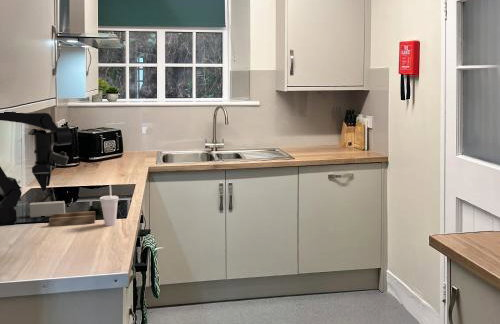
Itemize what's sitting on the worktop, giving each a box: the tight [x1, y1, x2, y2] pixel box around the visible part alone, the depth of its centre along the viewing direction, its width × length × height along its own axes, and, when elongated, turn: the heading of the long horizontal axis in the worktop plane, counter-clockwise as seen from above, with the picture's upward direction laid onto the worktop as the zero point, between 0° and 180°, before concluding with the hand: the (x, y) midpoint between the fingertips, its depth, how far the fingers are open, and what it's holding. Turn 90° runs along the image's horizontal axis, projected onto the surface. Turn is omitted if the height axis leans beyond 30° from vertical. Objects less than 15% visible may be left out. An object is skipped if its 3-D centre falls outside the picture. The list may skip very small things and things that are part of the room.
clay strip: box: [29, 200, 66, 218], centre depth 201 cm, size 12×3×5 cm, turn 104°
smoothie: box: [99, 184, 120, 227], centre depth 186 cm, size 6×6×14 cm
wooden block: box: [48, 210, 96, 227], centre depth 191 cm, size 15×7×3 cm, turn 103°
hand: (46, 188), depth 199 cm, fingers open, 9 cm apart
